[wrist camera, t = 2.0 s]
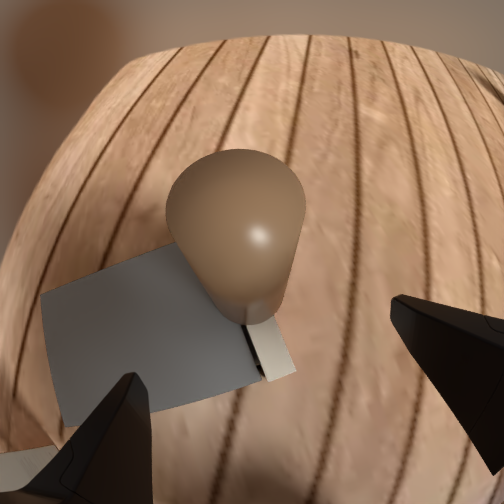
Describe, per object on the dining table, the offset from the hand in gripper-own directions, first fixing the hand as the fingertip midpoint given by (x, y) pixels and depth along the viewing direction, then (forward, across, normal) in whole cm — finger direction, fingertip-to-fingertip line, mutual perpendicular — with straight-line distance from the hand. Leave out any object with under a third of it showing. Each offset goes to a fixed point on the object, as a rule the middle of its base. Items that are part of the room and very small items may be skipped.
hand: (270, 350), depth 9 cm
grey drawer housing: (+11, +8, +6) cm, 15 cm away
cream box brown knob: (+11, +6, +6) cm, 13 cm away
